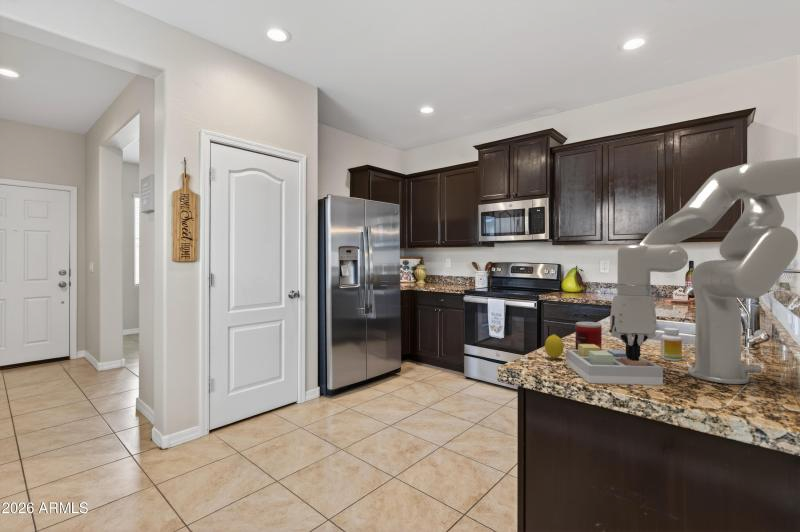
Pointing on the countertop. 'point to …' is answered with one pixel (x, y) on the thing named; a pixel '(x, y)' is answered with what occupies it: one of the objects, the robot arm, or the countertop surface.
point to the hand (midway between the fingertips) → (632, 359)
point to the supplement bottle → (671, 345)
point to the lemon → (554, 346)
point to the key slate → (618, 353)
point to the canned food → (588, 333)
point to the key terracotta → (633, 362)
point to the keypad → (615, 371)
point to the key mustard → (586, 349)
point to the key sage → (600, 358)
